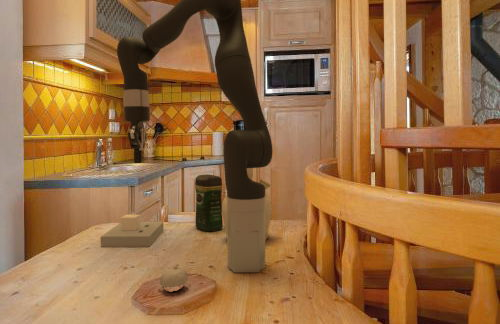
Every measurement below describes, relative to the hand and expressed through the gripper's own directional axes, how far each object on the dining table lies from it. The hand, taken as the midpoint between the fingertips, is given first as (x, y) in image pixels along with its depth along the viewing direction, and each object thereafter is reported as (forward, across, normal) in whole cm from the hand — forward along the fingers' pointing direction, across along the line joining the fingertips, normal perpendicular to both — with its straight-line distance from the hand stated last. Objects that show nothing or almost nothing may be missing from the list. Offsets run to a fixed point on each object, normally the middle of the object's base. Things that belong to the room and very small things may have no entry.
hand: (138, 162), depth 119 cm
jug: (+24, -1, -33) cm, 41 cm away
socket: (+24, +1, +2) cm, 24 cm away
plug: (+23, +1, +3) cm, 23 cm away
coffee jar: (+24, +12, -20) cm, 33 cm away
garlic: (+25, -40, -17) cm, 50 cm away
